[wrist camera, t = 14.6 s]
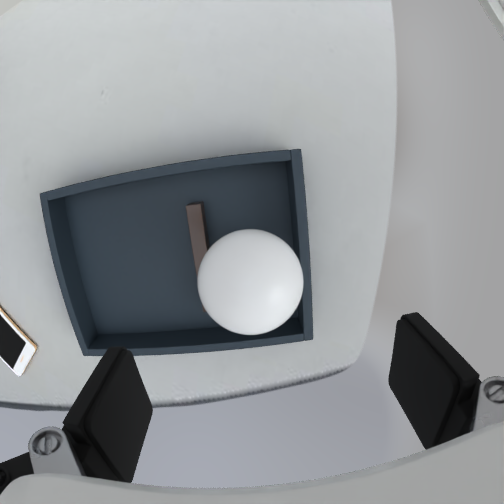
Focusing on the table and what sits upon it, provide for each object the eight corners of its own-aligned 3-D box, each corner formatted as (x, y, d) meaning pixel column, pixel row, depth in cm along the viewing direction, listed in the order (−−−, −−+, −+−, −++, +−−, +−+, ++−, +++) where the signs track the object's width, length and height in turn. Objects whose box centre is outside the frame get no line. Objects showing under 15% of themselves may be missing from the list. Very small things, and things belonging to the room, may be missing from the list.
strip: (203, 201, 25) (200, 203, 23) (218, 301, 27) (217, 310, 26) (189, 203, 25) (185, 205, 23) (205, 303, 27) (203, 312, 26)
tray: (292, 151, 25) (301, 148, 21) (305, 320, 29) (313, 339, 25) (59, 189, 24) (39, 193, 21) (96, 338, 29) (83, 356, 25)
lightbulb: (237, 296, 27) (237, 373, 17) (194, 239, 26) (165, 289, 15) (298, 257, 27) (334, 315, 16) (257, 196, 25) (271, 217, 14)
